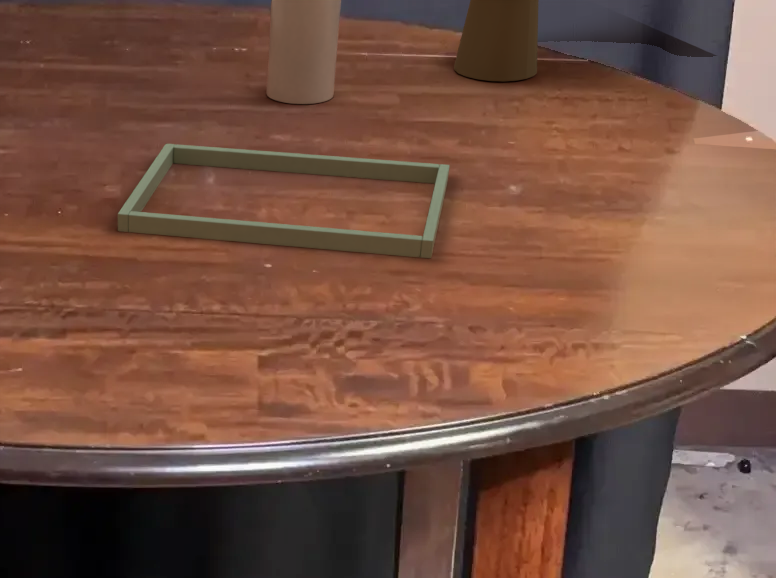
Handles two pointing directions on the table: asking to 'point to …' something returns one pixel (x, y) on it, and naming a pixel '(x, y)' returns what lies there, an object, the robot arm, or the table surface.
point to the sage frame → (285, 233)
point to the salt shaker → (303, 50)
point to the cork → (499, 40)
